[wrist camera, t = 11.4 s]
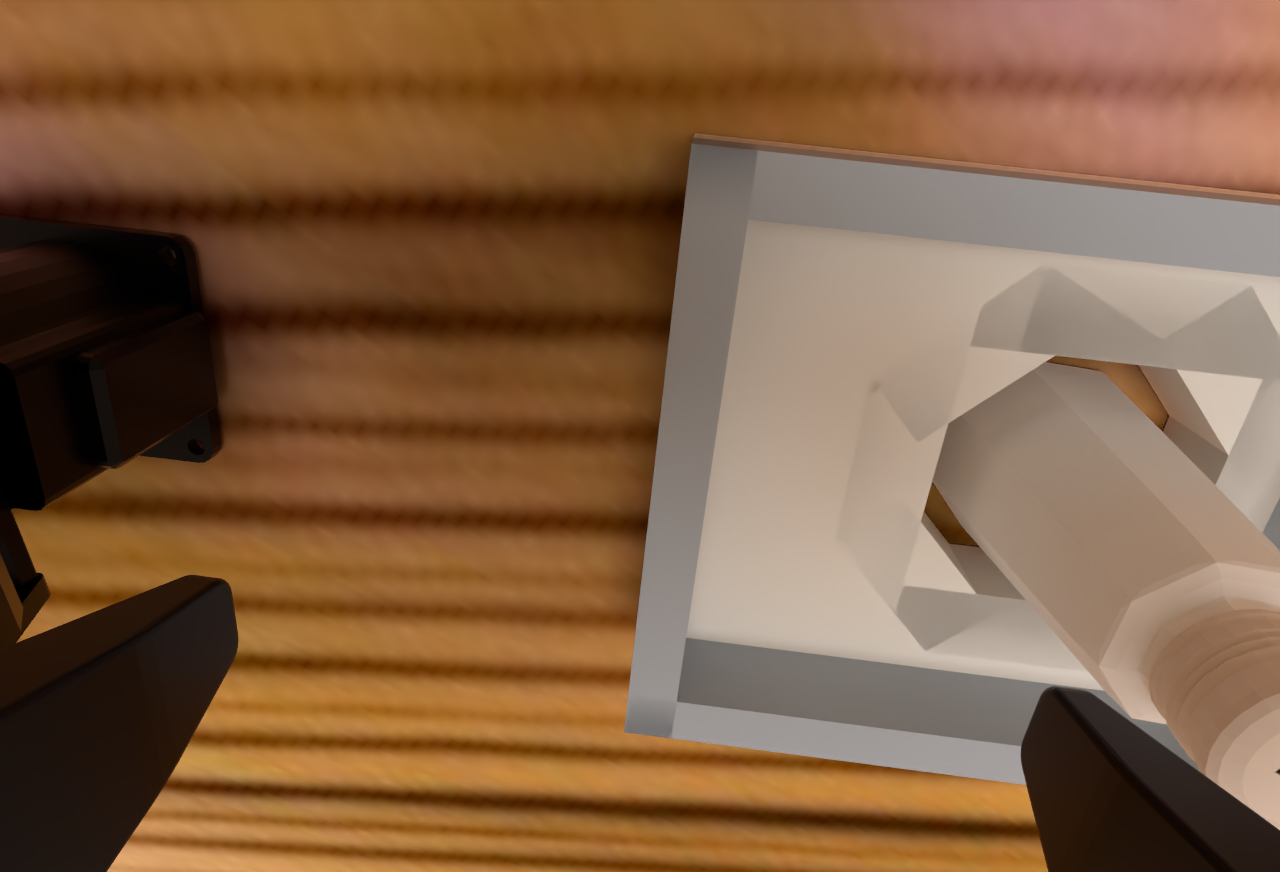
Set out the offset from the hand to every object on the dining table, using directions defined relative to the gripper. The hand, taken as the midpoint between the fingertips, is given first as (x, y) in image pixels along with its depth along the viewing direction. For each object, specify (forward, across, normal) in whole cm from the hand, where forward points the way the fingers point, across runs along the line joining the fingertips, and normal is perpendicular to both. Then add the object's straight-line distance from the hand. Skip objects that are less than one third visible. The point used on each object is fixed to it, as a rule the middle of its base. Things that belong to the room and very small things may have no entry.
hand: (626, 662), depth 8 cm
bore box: (+13, -8, +2) cm, 15 cm away
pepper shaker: (+13, -10, +2) cm, 17 cm away
